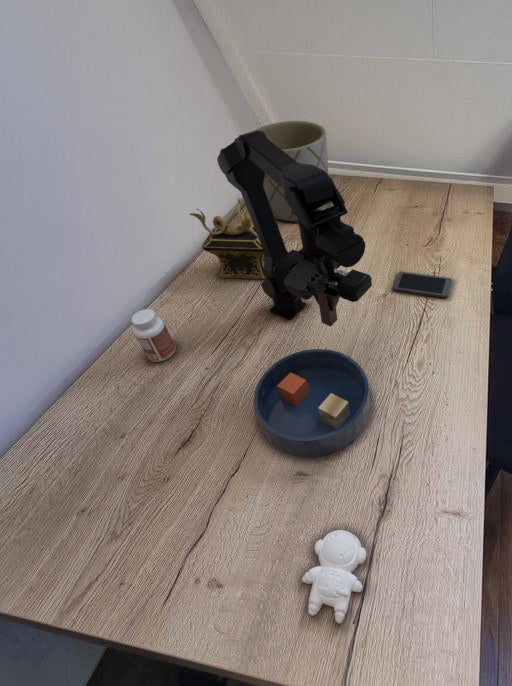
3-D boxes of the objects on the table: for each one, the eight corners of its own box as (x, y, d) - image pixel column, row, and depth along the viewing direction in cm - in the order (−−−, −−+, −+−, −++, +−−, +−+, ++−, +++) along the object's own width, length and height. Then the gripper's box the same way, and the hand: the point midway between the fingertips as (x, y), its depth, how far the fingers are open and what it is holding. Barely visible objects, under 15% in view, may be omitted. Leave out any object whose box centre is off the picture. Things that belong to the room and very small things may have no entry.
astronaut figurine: (291, 609, 63) (288, 602, 61) (323, 526, 71) (321, 517, 69) (351, 630, 61) (349, 624, 59) (376, 542, 69) (375, 534, 67)
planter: (304, 233, 136) (292, 156, 120) (248, 215, 145) (230, 142, 129) (347, 200, 149) (341, 127, 133) (293, 185, 159) (281, 116, 143)
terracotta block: (280, 398, 90) (277, 385, 87) (293, 384, 92) (290, 372, 89) (296, 407, 88) (292, 394, 85) (309, 393, 90) (306, 380, 88)
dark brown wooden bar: (321, 322, 94) (315, 280, 86) (328, 316, 95) (322, 274, 88) (330, 326, 93) (325, 284, 85) (337, 319, 94) (332, 277, 87)
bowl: (236, 423, 87) (229, 406, 83) (306, 353, 99) (303, 335, 96) (325, 479, 77) (321, 462, 74) (390, 393, 90) (390, 375, 86)
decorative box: (281, 260, 126) (267, 194, 112) (272, 281, 119) (256, 214, 105) (213, 257, 128) (191, 193, 115) (200, 278, 121) (175, 212, 108)
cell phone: (447, 298, 110) (448, 296, 110) (392, 290, 113) (392, 288, 113) (452, 280, 115) (452, 278, 115) (398, 273, 119) (398, 271, 118)
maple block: (320, 420, 85) (318, 407, 83) (333, 405, 88) (331, 392, 85) (337, 430, 84) (335, 417, 81) (350, 414, 86) (348, 401, 83)
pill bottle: (175, 339, 104) (158, 303, 97) (177, 358, 100) (159, 321, 92) (147, 347, 103) (127, 310, 95) (147, 366, 99) (126, 329, 91)
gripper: (248, 251, 80) (266, 316, 90) (334, 281, 72) (343, 349, 83) (288, 222, 87) (300, 286, 97) (371, 246, 79) (375, 313, 89)
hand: (327, 307), depth 91 cm, fingers closed on dark brown wooden bar, 2 cm apart
